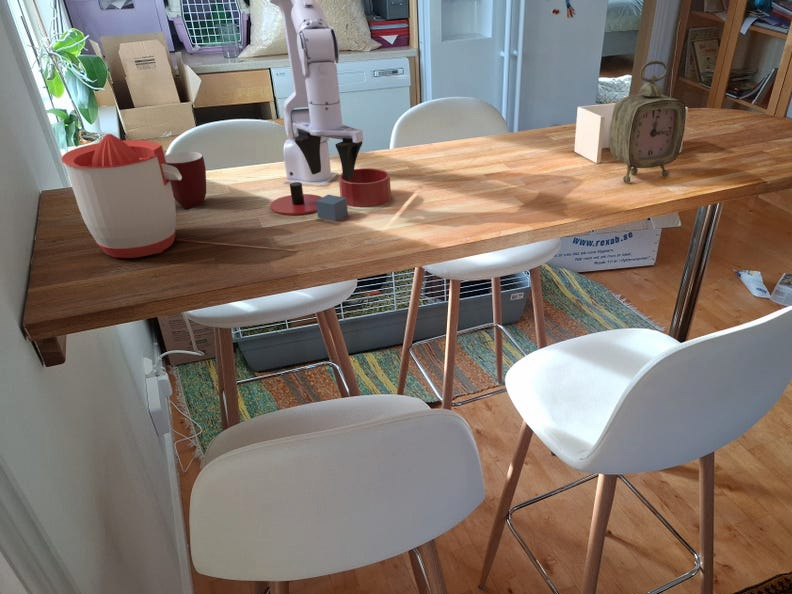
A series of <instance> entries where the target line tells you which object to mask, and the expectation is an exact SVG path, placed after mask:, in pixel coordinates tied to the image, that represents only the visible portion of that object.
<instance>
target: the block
mask: <svg viewBox="0 0 792 594" xmlns="http://www.w3.org/2000/svg"><path fill="white" fill-rule="evenodd" d="M321 197H322V198H320V199H318V200H316V207H317V212H316V215H317V218H318V219H323V220H329V221H331V222H338V221H340V220H341V219H343V218H345V217H347V216H348V215H349V209H348V205H347V200H346V198H344V197H340V196H338V195H332V194H327V195H324V196H321Z"/></svg>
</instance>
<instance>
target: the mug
mask: <svg viewBox="0 0 792 594" xmlns="http://www.w3.org/2000/svg"><path fill="white" fill-rule="evenodd" d="M164 156H165V160H166V164H167V165H170V166H173V167H176V168H177V169H178V171H179V173H180V174H181V176H182V179H181V180H170V183H171V187H172V191H173V196H174V200H175V202H177V203H178V204H179V205H180V206H181V208H183V209H184V210H185V209H186V210H190V209H193V208H195V207H198V206H202V205H203V204H204V202H205V199H206V195H207V169H206V163H205V158H204V155H203V154H202V153H201V152H198V151H177V152H172V153H168V154H164Z"/></svg>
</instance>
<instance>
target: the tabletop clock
mask: <svg viewBox="0 0 792 594" xmlns="http://www.w3.org/2000/svg"><path fill="white" fill-rule="evenodd" d="M652 65H661V66H663V68H664V73H663V74H662V75H661V76H659V77H656V75H655V74H651V75H650V78H646V77H644V76H643V72H644V70H645V69H646V68H647V67H649V66H652ZM667 73H668V65H667V64H666V63H665V62H664V61H662V60H650V61H648V62H646V63H645V64H644V65H643V66H642V67H641V69H640V71H639V77H640V79H641V80H642V81H644V82H646V83H644V84H643V85H642V86H641V87H640V89H639V92H638V93H637V94H631V95H627V96H624V97H622V98H620V99H618V100H617V101H616V102H615V103H616V104H615V106H614V110H613V114H612V121H611V127H610V148H609V150H610V155H611V157H612V158H613V159H615V160H617V161H619V162H620V163H621V162H622V163H623V164H625V165H626V166H627V168H626V175H624V176H623V179H622V180H623V182H624V183H625V184H628V183H630V181H631V176H630V174H631V175H633V176H634V175H637V174H638V172H639V170H638V169H650V168H652V169H653V168H656V167H660V168H661V170H662V172H661V175H662V177H664V178H667V177H669V175H670V171H669V170H668V169H666V168H665V165H669V164H671V163H673V162H674V161H676V160H677V158H678V156H679V154H680V153H679V151H680V147H681V144H682V139H683V140H684V138H683V134H684V135H685V131H684V128H685V129H686V125H685V118H686V108H685V107H686V103H685V102H684V101H682V100H679V99H677V98H673V97H670V96H667V95H664V94H663V89H662V86H661V85H660V84H658V83H656V82H660V81H661V80H663V79H664V78H665V77H666V75H667ZM682 145H683V144H682Z"/></svg>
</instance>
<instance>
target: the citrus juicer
mask: <svg viewBox="0 0 792 594" xmlns="http://www.w3.org/2000/svg"><path fill="white" fill-rule="evenodd" d="M61 162H62V163H63V164H64V166H65V169H66V173H67V175H68V178H69V181H70V184H71V188H72V191H73V194H74V197H75V201H76V204H77V207H78V210H79V212H80V215H81V217H82V220H83V222H84V224H85V226H86V228H87V229H88V231H89V233H90V234H91V236H92V238H93V239H94V240H95V243H96V244H97V245H98V247H99V248H100V249H101V250H102V251H103V252H104V253H105V254H106V255H107V256H109V257H112V258H114V259H131V258H133V259H134V258H141V257H147V256H152V255H157V254H161V253H163V252H164V251H165V250H167V249H169V247H171V246H172V245H173V244H174V243H175V237H176V234H177V233H176V232H177V231H176V230H177V228H176V224H177V211H176V210H177V209H176V201H175V198H174V196H173V191H172V187H171V183H170V180H181V179H182V176H181V174H180V173H179V171H178V169H177V168H176V167H173V166H170V165H167V164H166V160H165V153H164V148H163V145H162V144H161V143H158V142H156V141H151V140H141V139H139V140H138V139H126V140H125V139H124V140H122V139H121V138H119V137H117V136H115V135H114V134H112V133H107V134H105V135H104V136H103V137H102V138H101V140H100V142H96V143H91V144H87V145H83V146H80V147H77V148H73V149H71V150H69V151H67V152H66V153H64V154H63V155H62V157H61Z"/></svg>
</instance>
